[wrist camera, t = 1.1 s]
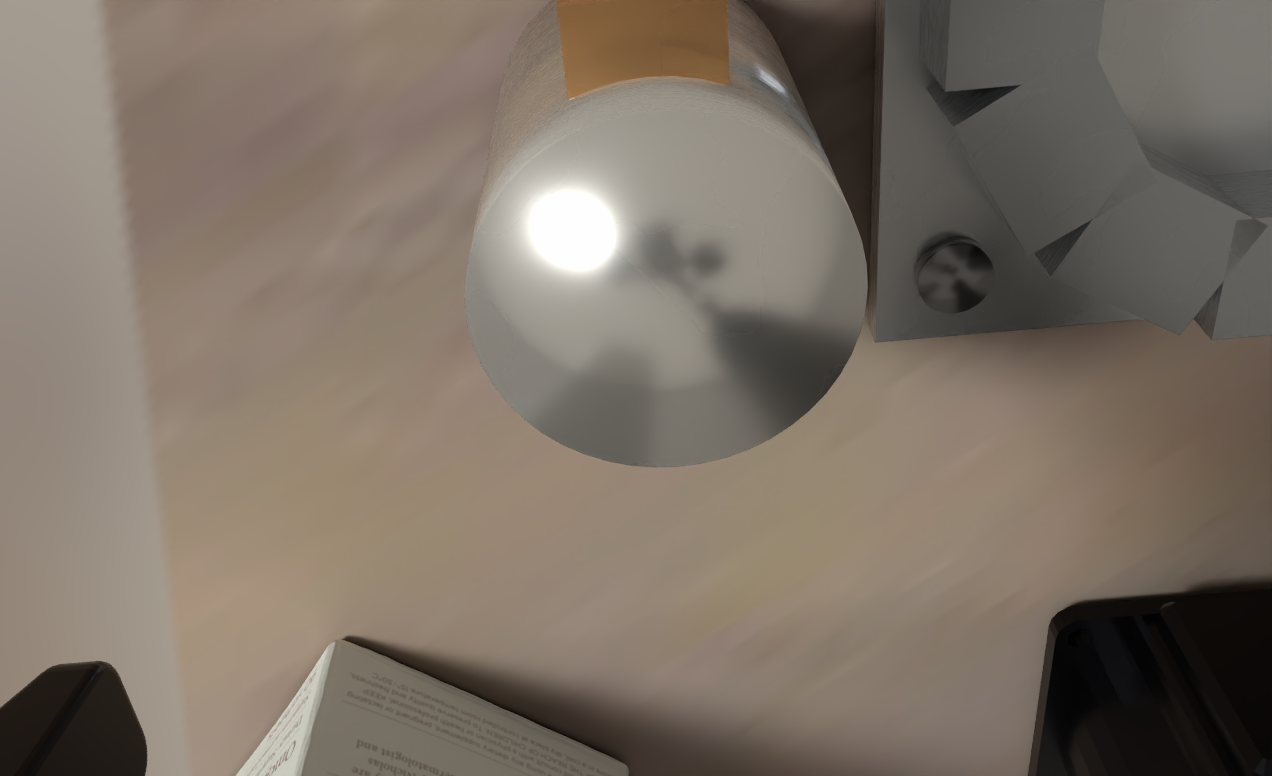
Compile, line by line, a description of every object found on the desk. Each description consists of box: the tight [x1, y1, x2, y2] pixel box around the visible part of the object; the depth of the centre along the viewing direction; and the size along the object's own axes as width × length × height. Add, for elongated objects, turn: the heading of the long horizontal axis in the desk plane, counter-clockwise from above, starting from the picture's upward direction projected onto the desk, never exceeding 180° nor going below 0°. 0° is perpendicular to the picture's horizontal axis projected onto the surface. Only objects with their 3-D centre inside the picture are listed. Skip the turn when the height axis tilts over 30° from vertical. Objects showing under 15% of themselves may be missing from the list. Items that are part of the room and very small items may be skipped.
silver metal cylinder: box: [465, 0, 868, 467], centre depth 16 cm, size 5×4×6 cm
